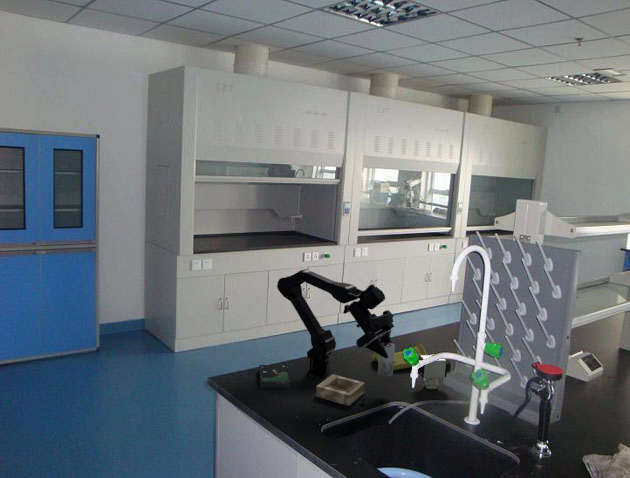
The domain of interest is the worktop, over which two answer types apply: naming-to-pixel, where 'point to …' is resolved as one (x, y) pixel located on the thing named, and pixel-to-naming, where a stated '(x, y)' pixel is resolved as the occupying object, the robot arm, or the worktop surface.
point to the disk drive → (274, 376)
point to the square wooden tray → (340, 389)
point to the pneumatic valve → (433, 371)
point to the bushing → (387, 360)
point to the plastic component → (398, 357)
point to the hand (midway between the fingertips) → (390, 355)
